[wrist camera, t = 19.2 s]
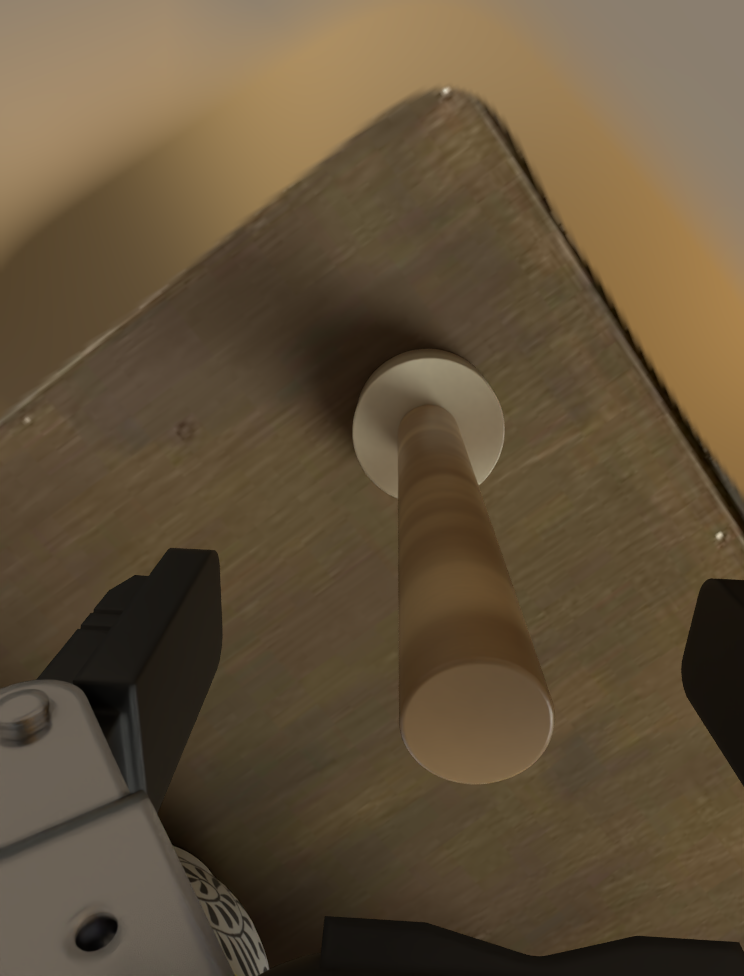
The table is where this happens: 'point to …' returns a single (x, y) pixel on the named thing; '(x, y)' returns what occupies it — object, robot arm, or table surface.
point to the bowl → (226, 918)
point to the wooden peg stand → (452, 571)
